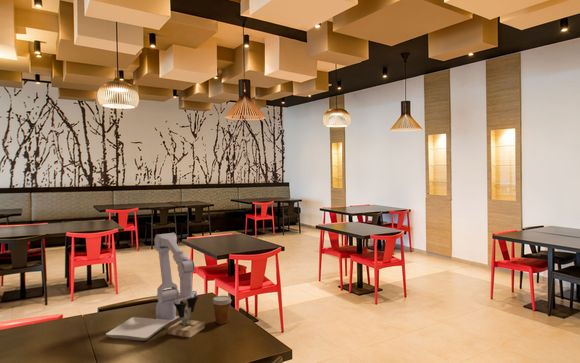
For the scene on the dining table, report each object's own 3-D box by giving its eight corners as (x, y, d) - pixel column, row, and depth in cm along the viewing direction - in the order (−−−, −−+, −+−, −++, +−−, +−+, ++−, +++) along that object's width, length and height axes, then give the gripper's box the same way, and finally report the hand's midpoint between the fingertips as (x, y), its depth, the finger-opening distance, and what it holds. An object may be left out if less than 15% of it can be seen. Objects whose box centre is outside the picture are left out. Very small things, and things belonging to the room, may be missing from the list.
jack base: (168, 334, 182) (168, 326, 182) (183, 324, 193) (183, 317, 193) (190, 337, 178) (189, 330, 178) (204, 328, 189) (204, 320, 189)
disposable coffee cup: (233, 318, 201) (233, 295, 201) (228, 325, 192) (228, 301, 192) (215, 318, 202) (215, 295, 202) (210, 325, 193) (209, 300, 193)
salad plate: (147, 344, 172) (147, 337, 171) (104, 341, 176) (104, 333, 176) (171, 326, 192) (171, 319, 192) (132, 323, 197) (132, 316, 196)
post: (181, 323, 185) (181, 308, 185) (185, 321, 188) (185, 306, 187) (187, 324, 184) (187, 309, 184) (191, 322, 186) (191, 307, 186)
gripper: (184, 291, 177) (184, 320, 177) (201, 282, 191) (202, 310, 191) (171, 289, 180) (171, 319, 180) (189, 281, 193) (189, 308, 193)
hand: (186, 314), depth 186 cm, fingers open, 7 cm apart
